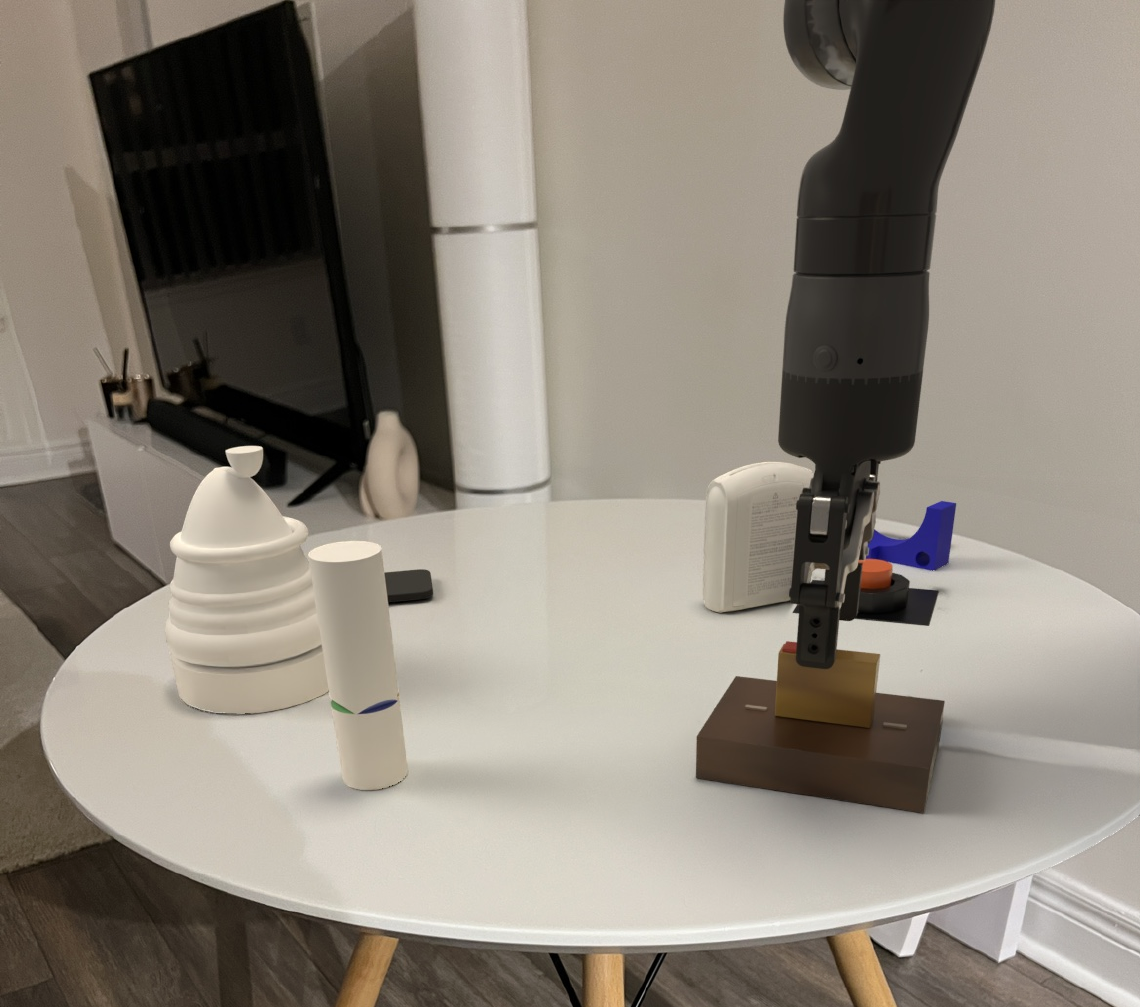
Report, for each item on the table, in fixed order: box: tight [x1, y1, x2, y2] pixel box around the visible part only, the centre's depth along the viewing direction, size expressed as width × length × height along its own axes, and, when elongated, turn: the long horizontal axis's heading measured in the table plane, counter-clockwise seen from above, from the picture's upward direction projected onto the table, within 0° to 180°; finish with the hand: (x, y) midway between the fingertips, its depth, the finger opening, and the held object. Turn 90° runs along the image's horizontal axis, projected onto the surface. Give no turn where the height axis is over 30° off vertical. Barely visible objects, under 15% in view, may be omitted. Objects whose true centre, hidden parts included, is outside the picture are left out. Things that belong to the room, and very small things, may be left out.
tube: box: [307, 540, 409, 791], centre depth 67 cm, size 4×4×15 cm
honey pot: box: [164, 445, 329, 715], centre depth 81 cm, size 13×13×18 cm
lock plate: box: [695, 675, 946, 814], centre depth 69 cm, size 14×10×3 cm
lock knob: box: [775, 640, 881, 728], centre depth 67 cm, size 6×2×5 cm, turn 68°
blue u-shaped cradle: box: [866, 500, 957, 572], centre depth 106 cm, size 12×4×6 cm, turn 46°
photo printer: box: [702, 461, 814, 613], centre depth 95 cm, size 10×4×12 cm, turn 115°
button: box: [858, 559, 894, 589], centre depth 90 cm, size 4×4×2 cm
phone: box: [384, 568, 434, 603], centre depth 103 cm, size 7×1×15 cm
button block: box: [792, 572, 940, 627], centre depth 91 cm, size 11×9×4 cm
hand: (827, 640), depth 66 cm, fingers open, 8 cm apart
